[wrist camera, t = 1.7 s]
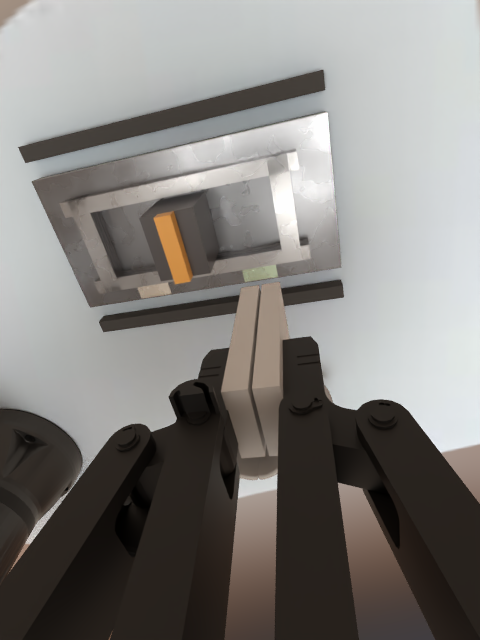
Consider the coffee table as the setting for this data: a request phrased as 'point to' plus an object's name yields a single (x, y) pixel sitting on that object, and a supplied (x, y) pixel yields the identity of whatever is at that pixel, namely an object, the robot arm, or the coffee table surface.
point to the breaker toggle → (181, 237)
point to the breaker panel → (224, 203)
